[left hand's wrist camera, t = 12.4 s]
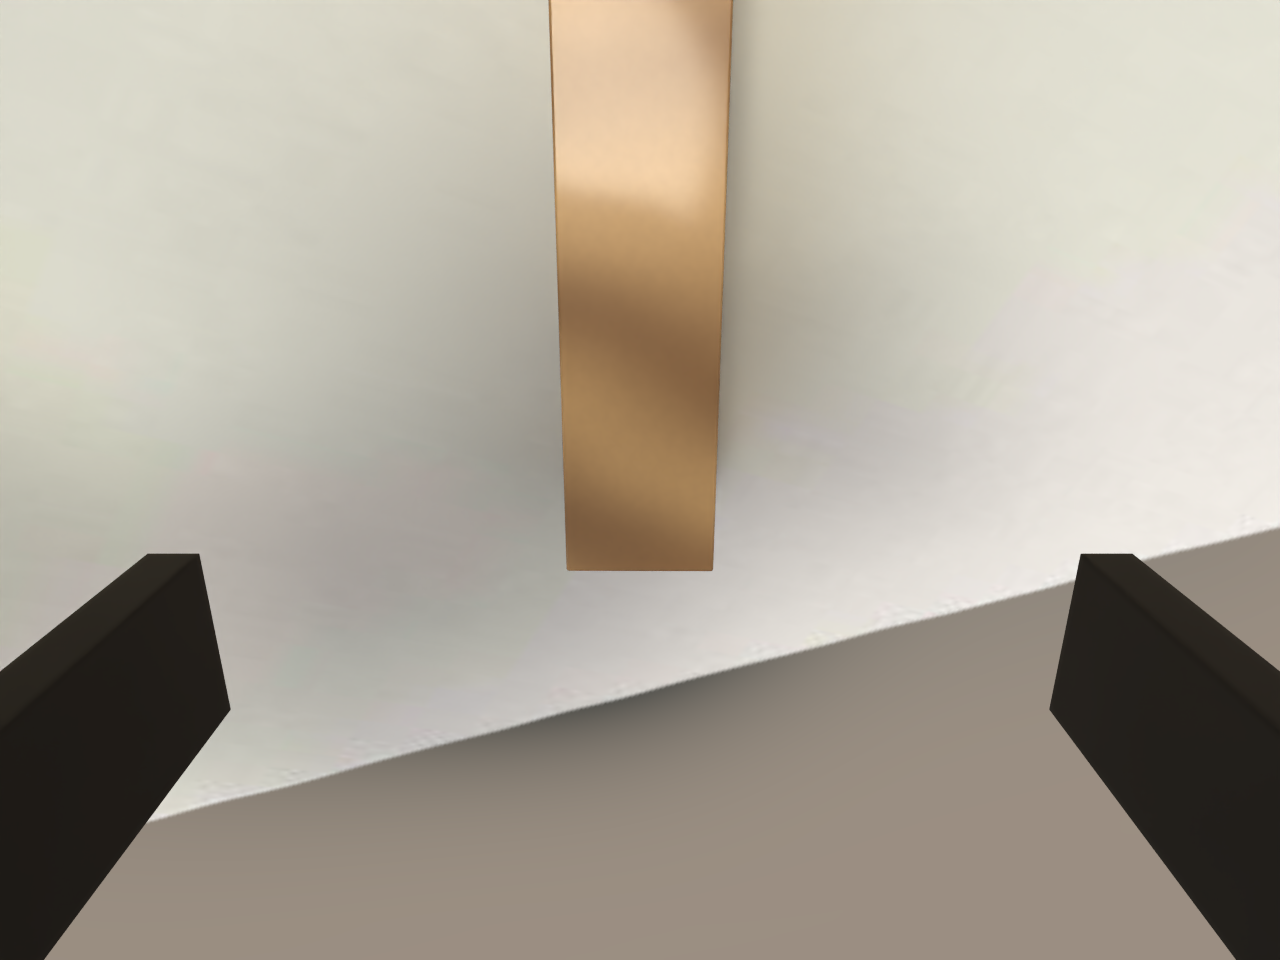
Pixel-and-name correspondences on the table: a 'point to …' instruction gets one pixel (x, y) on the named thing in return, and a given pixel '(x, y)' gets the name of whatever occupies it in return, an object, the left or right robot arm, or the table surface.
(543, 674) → the table surface
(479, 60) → the table surface
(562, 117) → the beam
